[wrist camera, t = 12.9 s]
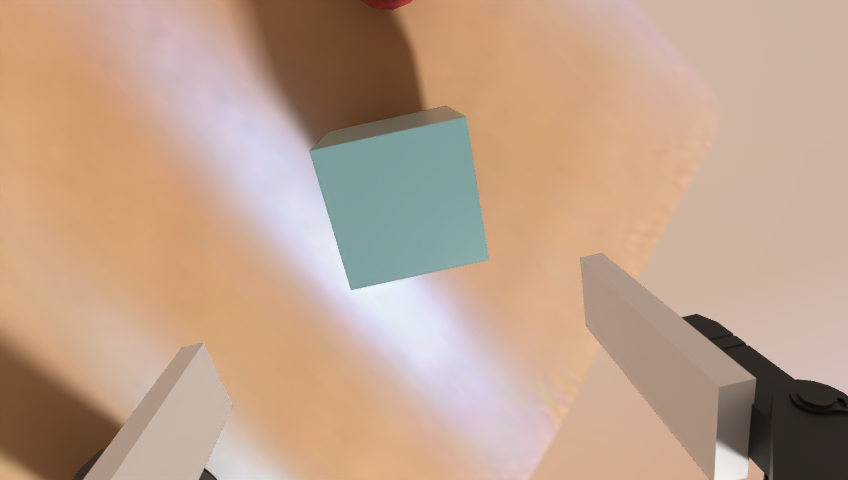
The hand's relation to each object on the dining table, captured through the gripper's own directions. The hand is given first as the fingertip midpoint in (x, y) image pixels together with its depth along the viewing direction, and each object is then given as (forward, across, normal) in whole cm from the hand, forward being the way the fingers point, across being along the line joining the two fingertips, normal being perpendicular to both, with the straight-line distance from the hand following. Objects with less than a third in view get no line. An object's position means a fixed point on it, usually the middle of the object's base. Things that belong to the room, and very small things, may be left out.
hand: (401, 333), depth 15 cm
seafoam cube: (+20, +1, +1) cm, 20 cm away
